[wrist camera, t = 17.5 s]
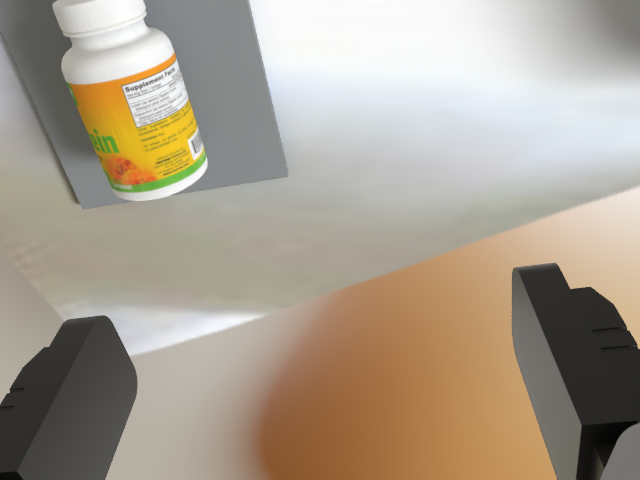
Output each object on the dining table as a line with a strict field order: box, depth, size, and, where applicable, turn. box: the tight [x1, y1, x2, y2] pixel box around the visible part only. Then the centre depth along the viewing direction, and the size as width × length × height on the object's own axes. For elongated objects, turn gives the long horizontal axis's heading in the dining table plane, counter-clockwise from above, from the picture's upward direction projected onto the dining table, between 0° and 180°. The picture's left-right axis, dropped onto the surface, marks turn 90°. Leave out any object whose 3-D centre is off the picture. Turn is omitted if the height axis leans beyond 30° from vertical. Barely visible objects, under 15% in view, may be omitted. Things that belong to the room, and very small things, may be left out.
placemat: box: [0, 0, 288, 209], centre depth 32 cm, size 15×13×1 cm
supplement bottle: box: [52, 0, 208, 201], centre depth 30 cm, size 5×5×10 cm
